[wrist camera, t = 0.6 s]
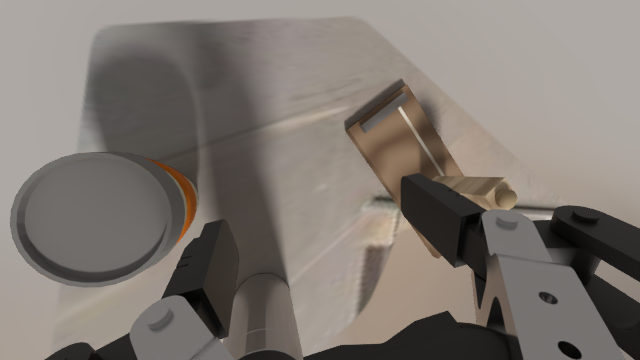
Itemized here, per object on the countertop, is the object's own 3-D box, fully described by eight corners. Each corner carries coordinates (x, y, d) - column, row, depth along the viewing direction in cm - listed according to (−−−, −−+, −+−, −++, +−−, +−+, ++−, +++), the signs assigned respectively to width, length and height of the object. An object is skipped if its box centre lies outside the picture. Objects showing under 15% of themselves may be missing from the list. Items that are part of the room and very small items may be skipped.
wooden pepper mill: (446, 192, 45) (526, 201, 31) (432, 205, 44) (506, 220, 30) (436, 176, 44) (512, 177, 30) (421, 189, 43) (492, 196, 30)
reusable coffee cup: (219, 229, 37) (189, 267, 22) (130, 251, 34) (30, 310, 20) (200, 151, 36) (156, 137, 22) (107, 168, 33) (-16, 164, 19)
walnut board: (479, 211, 48) (491, 213, 46) (432, 256, 46) (441, 260, 44) (402, 87, 44) (410, 82, 41) (345, 130, 41) (350, 128, 39)
